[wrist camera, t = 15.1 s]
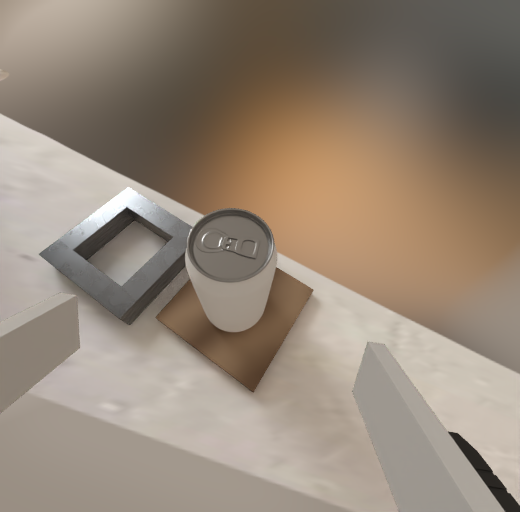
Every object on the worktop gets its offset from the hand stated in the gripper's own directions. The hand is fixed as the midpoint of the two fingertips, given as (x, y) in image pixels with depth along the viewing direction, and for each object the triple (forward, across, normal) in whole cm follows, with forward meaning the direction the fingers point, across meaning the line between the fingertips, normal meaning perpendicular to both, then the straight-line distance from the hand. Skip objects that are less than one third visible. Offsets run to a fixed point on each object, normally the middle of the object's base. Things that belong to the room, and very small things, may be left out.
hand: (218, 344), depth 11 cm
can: (+14, -1, -5) cm, 15 cm away
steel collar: (+18, -14, -3) cm, 23 cm away
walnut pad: (+15, 0, -6) cm, 16 cm away
